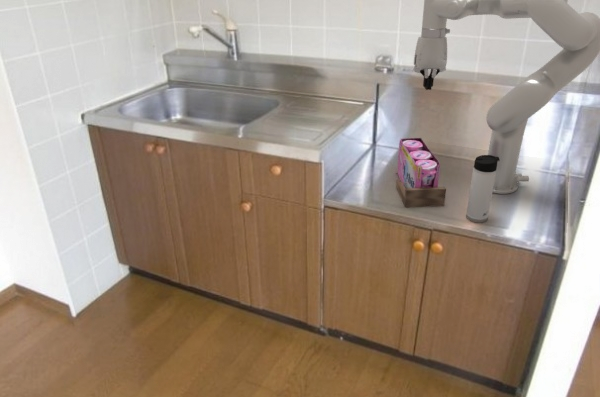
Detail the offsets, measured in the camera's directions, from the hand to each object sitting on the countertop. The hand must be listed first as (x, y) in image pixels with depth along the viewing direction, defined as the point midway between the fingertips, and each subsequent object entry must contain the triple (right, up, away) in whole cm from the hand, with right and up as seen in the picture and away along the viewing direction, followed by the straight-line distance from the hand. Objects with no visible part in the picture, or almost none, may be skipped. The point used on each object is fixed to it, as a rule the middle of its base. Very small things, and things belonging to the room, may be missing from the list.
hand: (427, 88), depth 169 cm
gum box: (-4, -34, 0) cm, 34 cm away
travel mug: (+10, -44, -19) cm, 49 cm away
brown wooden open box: (-4, -37, -6) cm, 38 cm away
